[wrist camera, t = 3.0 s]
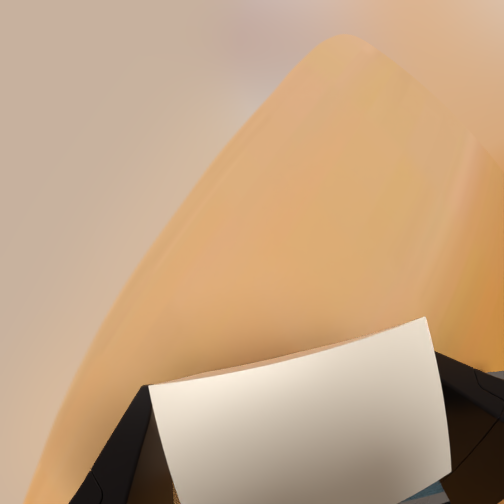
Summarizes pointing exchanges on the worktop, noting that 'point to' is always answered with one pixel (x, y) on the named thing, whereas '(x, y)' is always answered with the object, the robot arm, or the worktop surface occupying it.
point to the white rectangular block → (310, 425)
